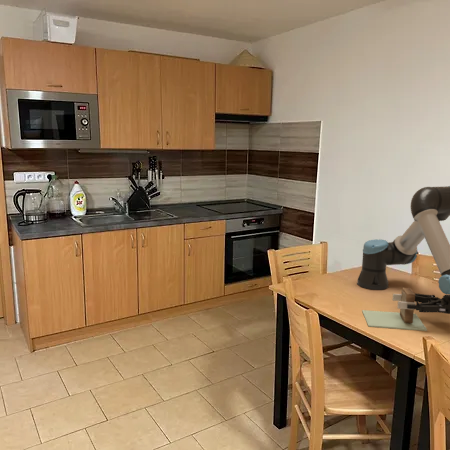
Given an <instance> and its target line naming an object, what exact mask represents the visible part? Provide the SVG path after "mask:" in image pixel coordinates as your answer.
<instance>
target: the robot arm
mask: <svg viewBox="0 0 450 450" xmlns="http://www.w3.org/2000/svg"><path fill="white" fill-rule="evenodd" d="M410 213H411V216H412V219H413V222H412V223H411V225H409V227H408V228H406V230H405V232H404V233H403V234H402V235H398V236H396V237H395V239H393V241H391V242H388V240H386V239H385V240H384V239H381V238H379V239H370V240H367V241H365V242H364V244H363V249H362V260H361V271H360V273H359V276H358V277H357V282H356V283H357V285H358V286H359V287H361V288H364V289H367V290H373V291H375V290H376V291H382V290H386V289H388V288H389V279H388V276H387V272H386V271H387V266H394V265H395V266H396V265H397V266H398V265H400V266H401V265H410V264H412V263H414V262H415V261H416V259H417V257H418V245H420V244H421V242H422V241H423V240H424V239H425V242H426V244H427V246H428V249H429V251H430V252H431V255H432V257H433V260H434V262H435V265H436V266H437V268H438V271H439V273H440V277H439V279H438V281H437V283H438V288H439V291H441V292H442V293H443V294H444V295H443V296H442V297H441V298H439V297H436V295H435V294H425V293H415V292H414V294H415V302H401V297H402V293H392V301H394V302H395V301H396V302H397V306H396V307H397V309H398V310H399V309H413V310H414V311H415V310H416V311H418V312H419V313H443V314H447V315H450V242H449V240H448V237H447V235H446V233H445V231H444V229H443V227H442V224H441V222H442V221H443V222H444V221H446V220H447V219H448V218H449V217H450V185H449V186H424V187H422V188H421V187H420V189H418V190H417V191H416V192H415V193H414V194H413V195H412V198H411V200H410Z"/></svg>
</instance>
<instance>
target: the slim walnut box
mask: <svg viewBox="0 0 450 450" xmlns="http://www.w3.org/2000/svg"><path fill="white" fill-rule="evenodd" d="M414 293H415V292H414V290H412V288H411V287H402V288H401V294H402V297H401V301H400V302H415V294H414ZM415 303H416V302H415ZM414 311H415V310H413V309H400V310H399V313H400V316H401V318H402V319H403V321H404V322H405V323H413V314H415V313H414Z"/></svg>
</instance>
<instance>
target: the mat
mask: <svg viewBox="0 0 450 450" xmlns="http://www.w3.org/2000/svg"><path fill="white" fill-rule="evenodd" d="M361 312H362V314H363V317H364V320H365V321H366V324H367V327H369V328H380V329H381V328H382V329H395V330H406V331H407V330H408V331H409V330H410V331H422V332H427V331H428V328H427V327H426V325H425V324H424V323H423V322H422V320H421V319H420V316H418V315H417V313H414V314H413V323H405V322H404V321H403V319H402V318H401V316H400V312H398V311H397V312H395V311H394V312H393V311H381V310H380V311H379V310H366V309H362V310H361Z"/></svg>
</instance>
